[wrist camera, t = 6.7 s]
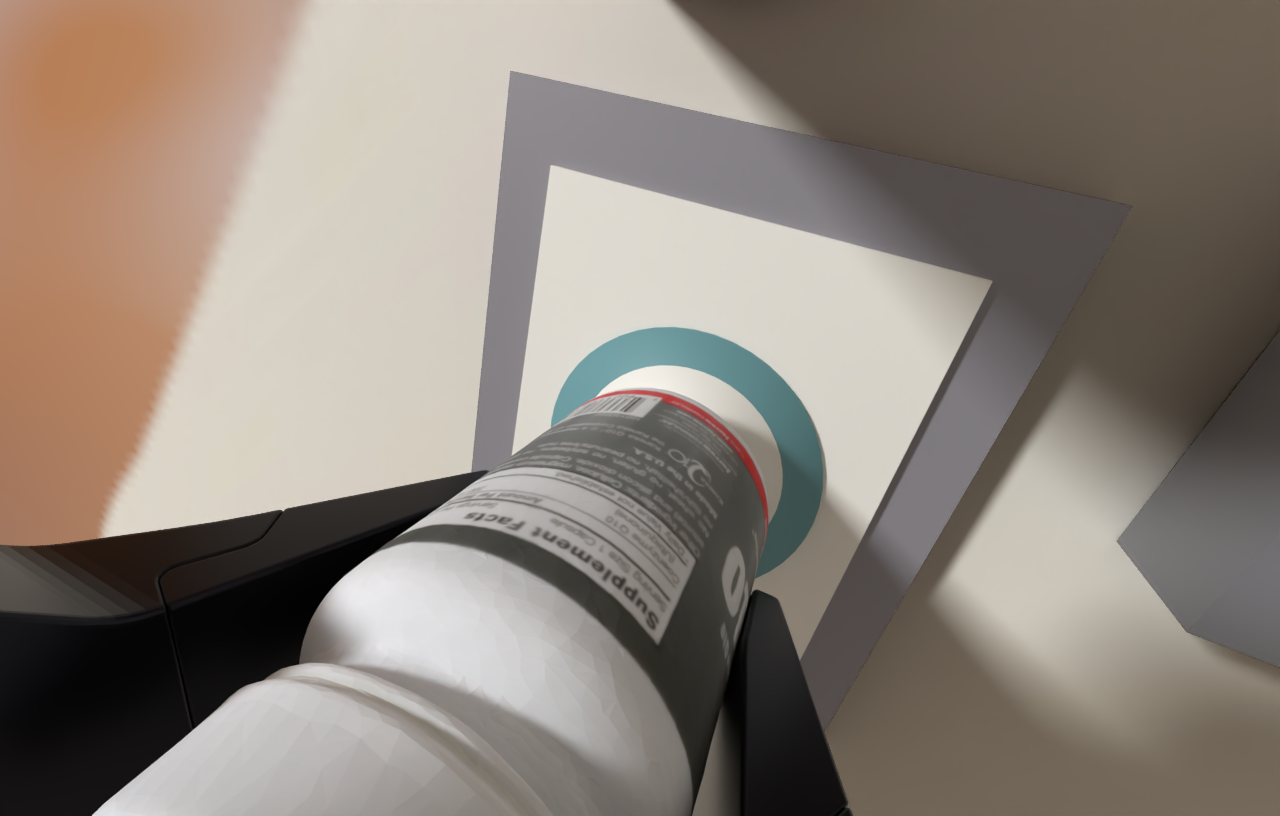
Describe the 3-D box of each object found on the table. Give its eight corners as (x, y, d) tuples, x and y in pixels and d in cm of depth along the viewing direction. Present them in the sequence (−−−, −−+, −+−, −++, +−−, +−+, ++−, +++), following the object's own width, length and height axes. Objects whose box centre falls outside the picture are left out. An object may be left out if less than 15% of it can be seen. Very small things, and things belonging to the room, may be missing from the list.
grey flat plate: (808, 736, 15) (805, 774, 14) (476, 569, 17) (453, 591, 16) (1110, 206, 9) (1142, 205, 8) (531, 79, 11) (501, 67, 10)
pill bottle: (714, 621, 12) (481, 1317, 4) (535, 517, 13) (88, 952, 5) (818, 452, 10) (706, 1255, 2) (594, 341, 10) (-18, 653, 3)
